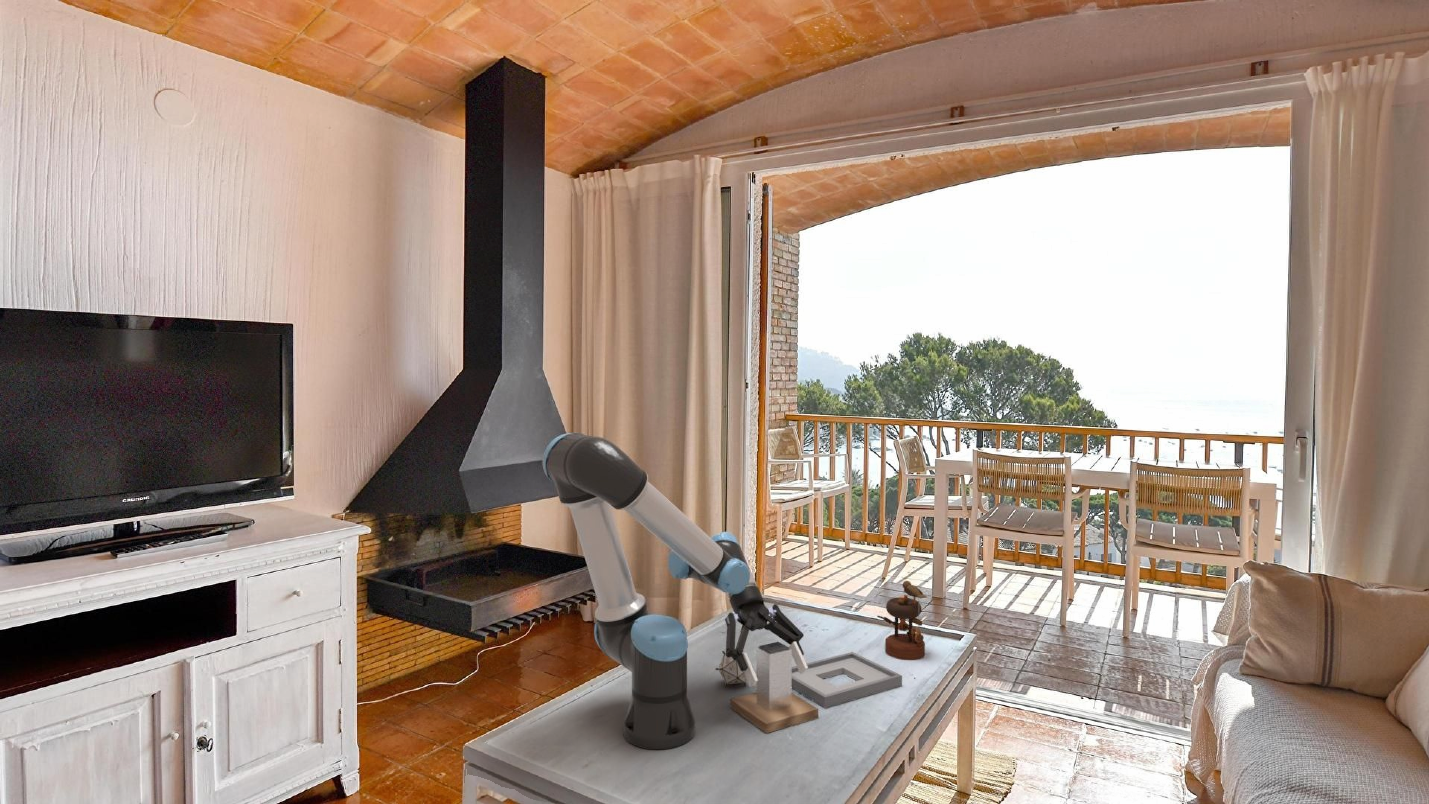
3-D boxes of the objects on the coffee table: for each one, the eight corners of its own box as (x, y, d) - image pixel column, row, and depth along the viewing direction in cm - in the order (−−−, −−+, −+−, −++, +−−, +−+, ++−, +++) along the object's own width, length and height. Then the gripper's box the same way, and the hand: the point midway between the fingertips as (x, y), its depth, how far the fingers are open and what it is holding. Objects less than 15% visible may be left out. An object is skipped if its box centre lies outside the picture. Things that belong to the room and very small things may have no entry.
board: (766, 733, 159) (766, 724, 159) (730, 707, 171) (730, 699, 171) (818, 717, 166) (818, 708, 166) (780, 694, 178) (780, 686, 178)
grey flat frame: (825, 708, 171) (825, 697, 171) (778, 680, 187) (778, 670, 186) (901, 685, 184) (902, 675, 183) (852, 661, 199) (852, 651, 199)
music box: (938, 654, 204) (936, 582, 202) (916, 668, 197) (914, 594, 195) (890, 639, 215) (888, 571, 213) (867, 652, 208) (865, 581, 206)
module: (769, 711, 165) (769, 652, 164) (756, 702, 169) (756, 645, 169) (791, 705, 168) (791, 647, 168) (778, 696, 172) (778, 640, 172)
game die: (738, 702, 183) (744, 679, 176) (708, 685, 185) (712, 662, 179) (754, 673, 189) (760, 650, 183) (724, 657, 192) (729, 634, 185)
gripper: (779, 593, 188) (816, 673, 175) (691, 609, 175) (725, 696, 163) (792, 577, 183) (831, 658, 171) (703, 592, 170) (738, 681, 158)
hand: (779, 677), depth 167 cm, fingers open, 13 cm apart
